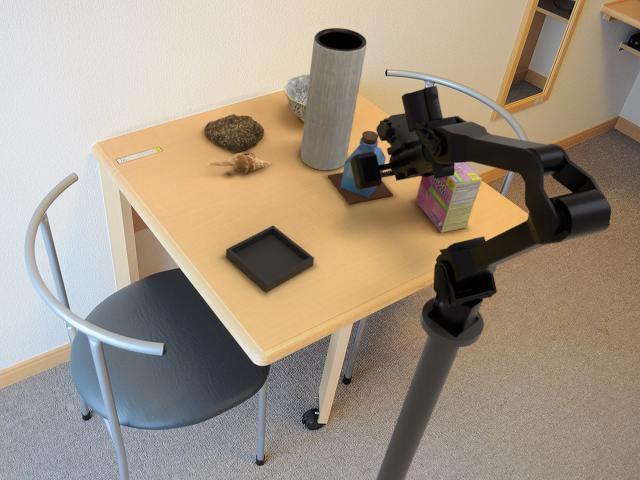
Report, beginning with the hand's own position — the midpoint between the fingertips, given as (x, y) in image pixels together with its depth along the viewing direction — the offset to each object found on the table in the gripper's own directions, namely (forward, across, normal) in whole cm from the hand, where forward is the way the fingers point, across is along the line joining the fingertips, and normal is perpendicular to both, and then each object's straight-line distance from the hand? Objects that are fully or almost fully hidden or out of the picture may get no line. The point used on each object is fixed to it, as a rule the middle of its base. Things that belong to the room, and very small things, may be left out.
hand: (379, 173), depth 127 cm
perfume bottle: (+9, 0, +1) cm, 9 cm away
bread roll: (+27, +18, -17) cm, 37 cm away
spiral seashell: (+18, +22, -8) cm, 30 cm away
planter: (+18, +3, -7) cm, 19 cm away
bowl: (+29, -2, -18) cm, 34 cm away
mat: (+10, 0, +1) cm, 10 cm away
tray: (-2, +26, +12) cm, 29 cm away
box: (0, -11, +10) cm, 15 cm away
